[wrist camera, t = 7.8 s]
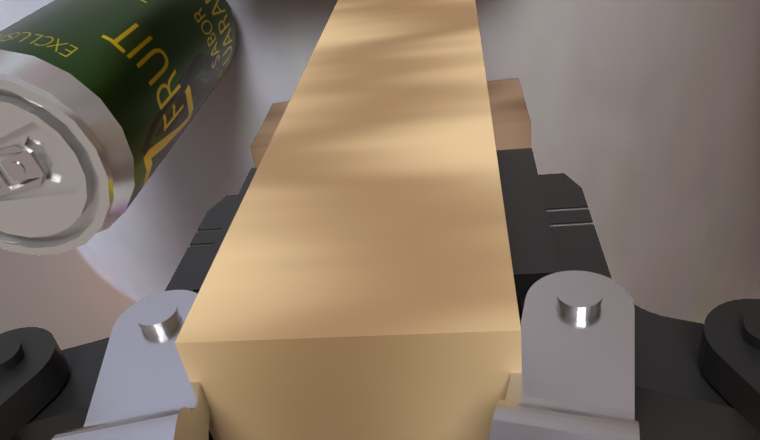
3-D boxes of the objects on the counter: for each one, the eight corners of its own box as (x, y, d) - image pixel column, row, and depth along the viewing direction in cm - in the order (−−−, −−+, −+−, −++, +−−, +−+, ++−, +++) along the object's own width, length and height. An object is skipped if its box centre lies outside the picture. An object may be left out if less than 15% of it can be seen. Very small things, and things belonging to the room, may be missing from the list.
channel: (512, -160, 22) (526, -149, 18) (519, 106, 27) (531, 152, 23) (220, -116, 23) (183, -98, 20) (279, 129, 28) (258, 176, 25)
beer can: (144, 100, 28) (-19, 279, 18) (77, -28, 25) (-160, 98, 15) (262, 68, 27) (158, 239, 17) (205, -71, 24) (40, 35, 14)
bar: (466, -62, 22) (521, 330, 7) (472, 43, 24) (524, 539, 8) (361, -49, 23) (173, 342, 7) (374, 52, 25) (252, 537, 9)
